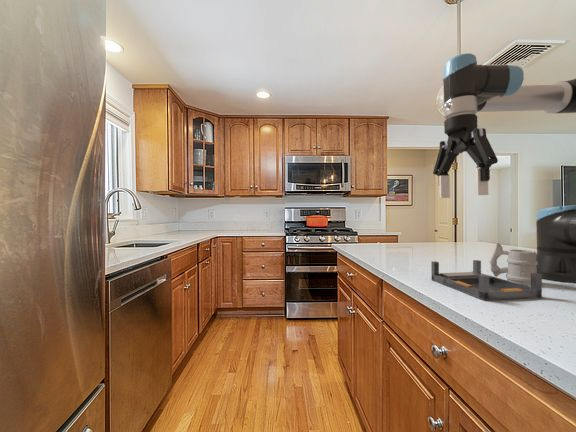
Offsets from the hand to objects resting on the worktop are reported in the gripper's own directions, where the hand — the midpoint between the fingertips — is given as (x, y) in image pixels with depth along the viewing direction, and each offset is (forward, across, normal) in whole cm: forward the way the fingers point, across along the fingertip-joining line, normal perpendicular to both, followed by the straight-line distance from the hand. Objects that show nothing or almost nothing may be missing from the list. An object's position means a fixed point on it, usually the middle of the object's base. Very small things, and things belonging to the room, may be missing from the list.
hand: (461, 196), depth 75 cm
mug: (+27, -8, +24) cm, 37 cm away
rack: (+26, -4, +8) cm, 28 cm away
